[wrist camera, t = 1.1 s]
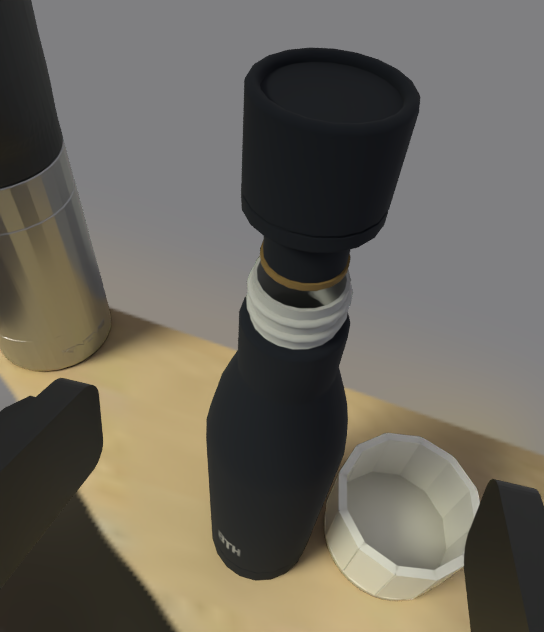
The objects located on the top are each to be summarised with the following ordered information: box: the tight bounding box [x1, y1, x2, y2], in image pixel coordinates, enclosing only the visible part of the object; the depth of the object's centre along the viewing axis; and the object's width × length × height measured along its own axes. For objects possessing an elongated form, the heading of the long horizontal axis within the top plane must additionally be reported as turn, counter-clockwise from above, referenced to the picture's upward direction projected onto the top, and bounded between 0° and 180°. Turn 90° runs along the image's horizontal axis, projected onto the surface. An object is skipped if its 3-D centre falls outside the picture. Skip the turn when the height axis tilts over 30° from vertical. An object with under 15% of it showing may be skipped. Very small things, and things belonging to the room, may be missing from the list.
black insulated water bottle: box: [206, 48, 420, 580], centre depth 22 cm, size 6×6×30 cm
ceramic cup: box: [324, 433, 480, 601], centre depth 32 cm, size 8×8×6 cm
